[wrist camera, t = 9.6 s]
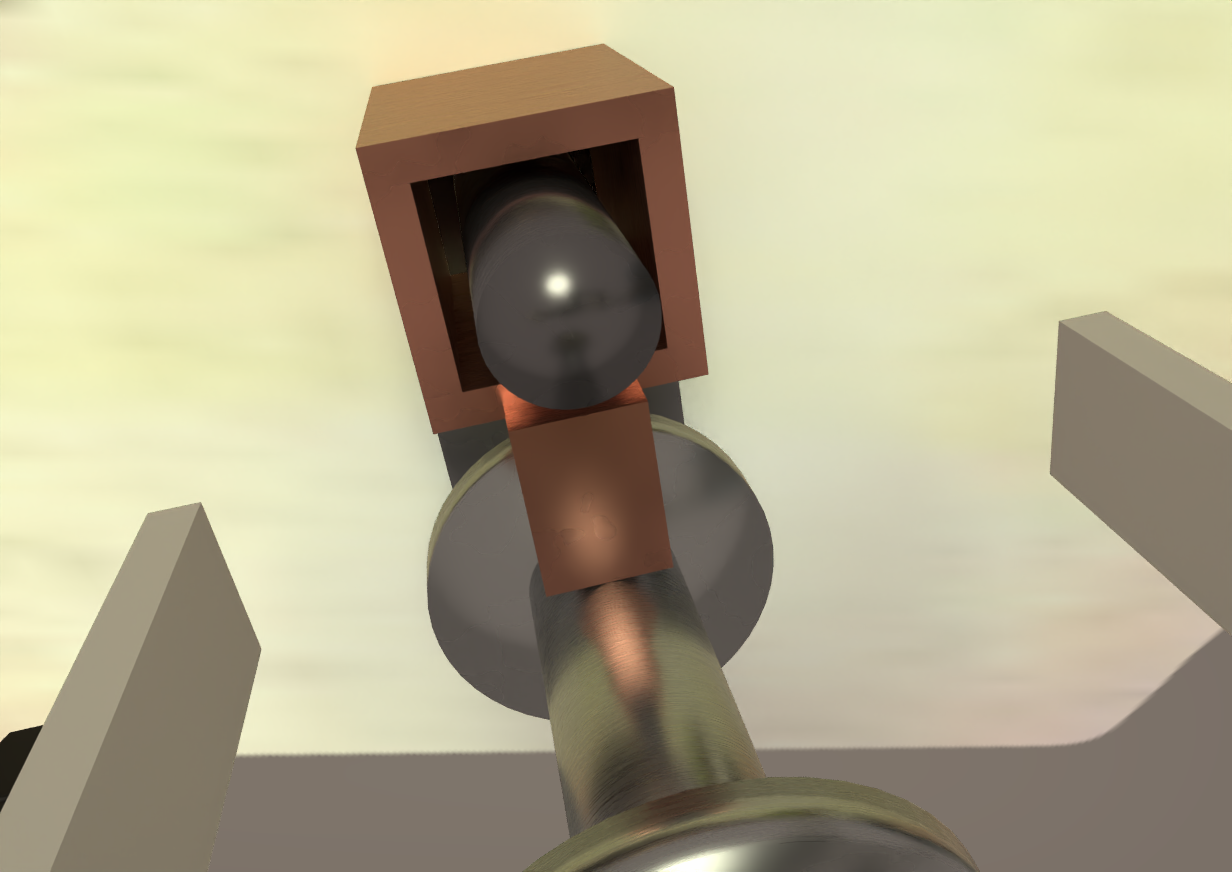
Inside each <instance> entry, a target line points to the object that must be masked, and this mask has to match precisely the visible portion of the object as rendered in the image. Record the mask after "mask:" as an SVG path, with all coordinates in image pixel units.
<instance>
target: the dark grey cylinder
mask: <svg viewBox="0 0 1232 872" xmlns="http://www.w3.org/2000/svg"><path fill="white" fill-rule="evenodd" d="M454 189H455V195H456V202H457V208H458V215H459V221H460V228H461V235H462V241H463V248H464V254H465V261H466V267H467V274H468V280H469V287H470V293H471V300H472V306H473V313H474V320H475V326H476V333H477V339H478V345H479V348H480V351H481V354H482V357H483V359H484V361H485V363H486V365H487V367H488V368H489V370H490V371H491V373H492V374H493V376H494V377H495V378H496V379H497V380H498V382H499V383H500V384H501V385H502V386H504V387H505V388H506V389H507V390H508V391H509V392H511V393H512V394H514V395H515V396H517V397H518V398H520V399H522V400H524V401H526V402H529V403H531V404H534V405H537V406H540V407H545V408H550V409H560V410H569V409H579V408H586V407H589V406H593V405H596V404H599V403H602V402H604V401H606V400H609V399H610V398H612V397H614V396H616V395H618V394H619V393H621V392H622V391H623V390H625V389H626V388H627V387H629V386H630V385H631V384H632V383H633V382H634V381H635V380H636V379H637V378H638V377H639V376H640V374H641V373H642V372H643V371H644V369H645V368H646V366H647V365H648V363H649V362H650V360H651V358H652V356H653V354H654V352H655V350H656V347H657V344H658V341H659V337H660V332H661V322H662V312H661V303H660V299H659V294H658V291H657V289H656V286H655V283H654V281H653V280H652V278H651V276H650V274H649V272H648V271H647V269H646V268H645V267H644V265H643V264H642V262H641V261H640V259H639V258H638V256H637V255H636V253H635V252H634V250H633V249H632V247H631V246H630V244H629V243H628V241H627V240H626V238H625V237H624V235H623V234H622V233H621V231H620V230H619V228H618V227H617V225H616V224H615V222H614V221H613V219H612V218H611V216H610V215H609V213H608V212H607V210H606V209H605V207H604V206H603V204H602V203H601V201H600V200H599V199H598V197H597V196H596V194H595V193H594V191H593V190H592V188H591V187H590V185H589V184H588V182H587V181H586V179H585V178H584V176H583V175H582V173H581V172H580V170H579V169H578V167H577V166H576V165H575V163H574V162H573V160H572V159H571V157H570V156H569V154H568V153H567V152H565V153H560V154H555V155H550V156H545V157H540V158H535V159H530V160H525V161H520V162H515V163H509V164H504V165H499V166H494V167H489V168H484V169H479V170H474V171H469V172H464V173H458V174H454Z"/></svg>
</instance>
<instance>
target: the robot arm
mask: <svg viewBox="0 0 1232 872" xmlns="http://www.w3.org/2000/svg"><path fill="white" fill-rule="evenodd" d="M1050 474H1051V475H1052V476H1053V477H1054V478H1055V479H1056V480H1057V481H1058V482H1059V483H1061V484H1062V485H1063V486H1064V487H1065V488H1066V489H1067V490H1068V491H1070V492H1071V493H1072V494H1073V495H1074V496H1075V497H1076V498H1077V499H1079V500H1080V501H1081V502H1082V503H1083V504H1084V505H1085V506H1086V507H1087V508H1089V509H1090V510H1091V511H1092V512H1093V513H1094V514H1095V515H1096V516H1098V517H1099V518H1100V519H1101V520H1102V521H1103V522H1104V523H1105V524H1107V525H1108V526H1109V527H1110V528H1111V529H1112V530H1113V531H1114V532H1115V533H1117V534H1118V535H1119V536H1120V537H1121V538H1122V539H1123V540H1124V541H1126V542H1127V543H1128V544H1129V545H1130V546H1131V547H1132V548H1133V549H1135V550H1136V551H1137V552H1138V553H1139V554H1140V555H1141V556H1142V557H1144V558H1145V559H1146V560H1147V561H1148V562H1149V563H1150V564H1151V565H1152V566H1154V567H1155V568H1156V569H1157V570H1158V571H1159V572H1160V573H1161V574H1163V575H1164V576H1165V577H1166V578H1167V579H1168V580H1169V581H1170V582H1172V583H1173V584H1174V585H1175V586H1176V587H1177V588H1178V589H1179V590H1180V591H1182V592H1183V593H1184V594H1185V595H1186V596H1187V597H1188V598H1189V599H1191V600H1192V601H1193V602H1194V603H1195V604H1196V605H1197V606H1198V607H1200V608H1201V609H1202V610H1203V611H1204V612H1205V613H1206V614H1207V615H1208V616H1210V617H1211V618H1212V619H1213V620H1214V621H1215V622H1216V623H1217V624H1219V625H1220V626H1221V627H1222V628H1223V629H1224V630H1225V631H1226V632H1228V633H1229V634H1230V635H1231V636H1232V383H1230V382H1229V381H1227V380H1225V379H1223V378H1222V377H1220V376H1218V375H1216V374H1215V373H1213V372H1211V371H1209V370H1208V369H1206V368H1204V367H1202V366H1201V365H1199V364H1197V363H1195V362H1194V361H1192V360H1190V359H1189V358H1187V357H1185V356H1183V355H1182V354H1180V353H1178V352H1176V351H1175V350H1173V349H1171V348H1169V347H1168V346H1166V345H1164V344H1162V343H1161V342H1159V341H1157V340H1155V339H1154V338H1152V337H1150V336H1149V335H1147V334H1145V333H1143V332H1142V331H1140V330H1138V329H1136V328H1135V327H1133V326H1131V325H1129V324H1128V323H1126V322H1124V321H1122V320H1121V319H1119V318H1117V317H1115V316H1114V315H1112V314H1110V313H1108V312H1107V311H1104V312H1099V313H1094V314H1090V315H1085V316H1080V317H1075V318H1071V319H1066V320H1061V321H1059V329H1058V346H1057V363H1056V380H1055V397H1054V413H1053V430H1052V447H1051V464H1050ZM260 653H261V647H260V644H259V642H258V639H257V637H256V635H255V632H254V630H253V627H252V625H251V622H250V620H249V618H248V615H247V613H246V610H245V608H244V605H243V603H242V601H241V598H240V596H239V593H238V591H237V588H236V586H235V583H234V581H233V579H232V576H231V574H230V571H229V569H228V566H227V564H226V562H225V559H224V557H223V554H222V552H221V549H220V547H219V545H218V542H217V540H216V537H215V535H214V532H213V530H212V528H211V525H210V523H209V520H208V518H207V515H206V513H205V511H204V508H203V506H202V503H201V502H199V503H194V504H190V505H185V506H180V507H175V508H171V509H166V510H161V511H156V512H152V513H148V514H147V516H146V518H145V520H144V522H143V524H142V526H141V528H140V530H139V532H138V534H137V536H136V538H135V540H134V542H133V544H132V546H131V548H130V550H129V552H128V554H127V556H126V558H125V560H124V562H123V564H122V566H121V568H120V571H119V573H118V575H117V577H116V579H115V581H114V583H113V585H112V587H111V589H110V591H109V593H108V595H107V597H106V599H105V601H104V603H103V605H102V607H101V609H100V611H99V613H98V615H97V617H96V619H95V621H94V623H93V625H92V627H91V629H90V631H89V634H88V636H87V638H86V640H85V642H84V644H83V646H82V648H81V650H80V652H79V654H78V656H77V658H76V660H75V662H74V664H73V666H72V668H71V670H70V672H69V674H68V676H67V678H66V680H65V682H64V684H63V686H62V688H61V690H60V692H59V694H58V697H57V699H56V701H55V703H54V705H53V707H52V709H51V711H50V713H49V715H48V717H47V719H46V721H45V723H44V725H41V726H37V727H33V728H28V729H24V730H19V731H15V732H10V733H9V734H8V735H7V736H6V737H5V738H4V739H3V740H2V741H1V742H0V872H208V868H209V863H210V860H211V855H212V851H213V847H214V843H215V839H216V835H217V831H218V826H219V822H220V818H221V814H222V810H223V806H224V802H225V797H226V793H227V789H228V785H229V781H230V777H231V773H232V769H233V764H234V760H235V756H236V752H237V748H238V744H239V740H240V736H241V732H242V727H243V723H244V719H245V715H246V711H247V707H248V703H249V699H250V694H251V690H252V686H253V682H254V678H255V674H256V670H257V666H258V661H259V657H260Z"/></svg>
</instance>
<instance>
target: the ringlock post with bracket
mask: <svg viewBox="0 0 1232 872" xmlns="http://www.w3.org/2000/svg"><path fill="white" fill-rule="evenodd" d="M586 148H590V155H591V161H592V167H593V173H594V179H595V185H596V191H597V197H598V199H599V200H600V201H601V203H602V204H603V206H604V207H605V209H606V210H607V212H608V213H609V215H610V216H611V218H612V219H613V221H614V222H615V224H616V225H617V227H618V228H619V230H620V231H621V233H622V234H623V235H624V237H625V238H626V240H627V241H628V243H629V244H630V246H631V247H632V249H633V250H634V252H635V253H636V255H637V256H638V258H639V259H640V261H641V262H642V264H643V265H644V267H645V268H646V269H647V271H648V272H649V274H650V276H651V278H652V280H653V281H654V283H655V286H656V289H657V291H658V294H659V299H660V303H661V312H662V322H661V332H660V337H659V341H658V344H657V347H656V350H655V352H654V354H653V356H652V358H651V360H650V362H649V363H648V365H647V366H646V368H645V369H644V371H643V372H642V373H641V374H640V376H639V377H638V378H637V379H636V380H635V381H634V382H633V383H632V384H631V385H630V386H629V387H627V388H626V389H625V390H623V391H622V392H621V393H619V394H618V395H616V396H614V397H612V398H610V399H609V400H606V401H604V402H602V403H599V404H596V405H593V406H589V407H586V408H579V409H569V410H560V409H550V408H545V407H540V406H537V405H534V404H531V403H529V402H526V401H524V400H522V399H520V398H518V397H517V396H515V395H514V394H512V393H511V392H509V391H508V390H507V389H506V388H505V387H504V386H502V385H501V384H500V383H499V382H498V380H497V379H496V378H495V377H494V376H493V374H492V373H491V371H490V370H489V368H488V367H487V365H486V363H485V361H484V359H483V357H482V354H481V351H480V348H479V345H478V339H477V333H476V326H475V320H474V313H473V306H472V300H471V293H470V287H469V280H468V274H467V272H464V273H459V274H454V275H450V271H449V266H448V262H447V258H446V254H445V250H444V246H443V242H442V238H441V233H440V229H439V225H438V221H437V217H436V213H435V209H434V205H433V200H432V196H431V192H430V188H429V184H428V179H433V178H438V177H443V176H448V175H453V174H458V173H464V172H469V171H474V170H479V169H484V168H489V167H494V166H499V165H504V164H509V163H515V162H520V161H525V160H530V159H535V158H540V157H545V156H550V155H555V154H560V153H565V152H571V151H576V150H581V149H586ZM356 152H357V155H358V159H359V163H360V166H361V170H362V174H363V177H364V181H365V185H366V188H367V192H368V196H369V199H370V203H371V207H372V210H373V214H374V218H375V221H376V225H377V229H378V232H379V236H380V240H381V243H382V247H383V251H384V254H385V258H386V262H387V265H388V269H389V273H390V276H391V280H392V284H393V287H394V291H395V295H396V298H397V302H398V306H399V309H400V313H401V317H402V320H403V324H404V328H405V332H406V335H407V339H408V343H409V346H410V350H411V354H412V357H413V361H414V365H415V368H416V372H417V376H418V379H419V383H420V387H421V390H422V394H423V398H424V401H425V405H426V409H427V412H428V416H429V420H430V423H431V427H432V431H433V434H437V433H438V436H439V440H440V444H441V448H442V451H443V455H444V459H445V462H446V466H447V470H448V474H449V477H450V481H451V485H452V488H453V489H452V491H451V493H450V494H449V496H448V497H447V499H446V501H445V502H444V504H443V506H442V508H441V510H440V512H439V515H438V517H437V519H436V522H435V524H434V527H433V531H432V535H431V538H430V542H429V548H428V557H427V593H428V610H429V614H430V619H431V623H432V628H433V630H434V633H435V635H436V638H437V640H438V643H439V645H440V647H441V649H442V650H443V652H444V654H445V655H446V657H447V659H448V660H449V662H450V663H451V664H452V665H453V667H454V668H455V669H456V670H457V671H458V673H459V674H460V675H461V676H462V677H463V678H464V679H465V680H466V681H467V682H469V683H470V684H471V685H472V686H473V687H474V688H475V689H477V690H478V691H480V692H481V693H483V694H484V695H486V696H487V697H489V698H490V699H492V700H494V701H496V702H498V703H500V704H502V705H504V706H506V707H508V708H510V709H513V710H516V711H518V712H521V713H524V714H527V715H531V716H535V717H540V718H544V719H549V720H550V722H551V728H552V734H553V740H554V746H555V752H556V758H557V763H558V769H559V775H560V781H561V787H562V793H563V799H564V805H565V811H566V817H567V822H568V828H569V834H570V839H568V840H566V841H565V842H563V843H562V844H560V845H559V846H557V847H556V848H554V849H553V850H551V851H550V852H548V853H547V854H545V855H544V856H542V857H540V858H539V859H537V860H536V861H535V862H534V863H533V864H531V865H530V866H529V867H528V868H527V869H525V870H524V871H523V872H980V870H979V869H978V867H977V865H976V864H975V862H974V860H973V859H972V857H971V855H970V854H969V852H968V850H967V849H966V848H965V847H964V845H963V844H962V843H961V842H960V841H959V839H958V838H957V837H956V836H955V834H954V833H953V832H952V831H951V830H950V829H949V828H948V827H946V826H945V825H944V824H942V823H941V822H940V821H939V820H938V819H937V818H935V817H934V816H933V815H932V814H930V813H929V812H927V811H925V810H923V809H922V808H920V807H918V806H916V805H914V804H913V803H911V802H909V801H908V800H905V799H903V798H900V797H897V796H895V795H892V794H890V793H887V792H884V791H882V790H879V789H876V788H871V787H868V786H863V785H859V784H855V783H850V782H846V781H839V780H830V779H820V778H811V777H767V778H766V775H765V773H764V770H763V768H762V766H761V763H760V761H759V758H758V756H757V753H756V751H755V749H754V746H753V744H752V741H751V739H750V736H749V734H748V732H747V729H746V727H745V724H744V722H743V720H742V717H741V715H740V712H739V710H738V707H737V705H736V703H735V700H734V698H733V695H732V693H731V690H730V688H729V686H728V683H727V681H726V678H725V676H724V674H723V671H722V669H721V668H722V667H723V666H724V665H725V664H726V663H727V662H728V661H729V660H730V659H731V658H732V657H733V656H734V654H735V653H736V652H737V651H738V650H739V648H740V647H741V646H742V645H743V643H744V642H745V641H746V639H747V638H748V637H749V635H750V633H751V632H752V630H753V628H754V627H755V625H756V623H757V621H758V620H759V617H760V615H761V613H762V610H763V608H764V606H765V604H766V600H767V597H768V593H769V590H770V586H771V581H772V573H773V544H772V538H771V532H770V528H769V525H768V522H767V519H766V516H765V513H764V511H763V509H762V507H761V505H760V503H759V502H758V500H757V498H756V496H755V494H754V493H753V491H752V489H751V488H750V486H749V484H748V482H747V481H746V479H745V477H744V476H743V474H742V473H741V471H740V470H739V469H738V467H737V466H736V465H735V463H734V462H733V461H732V459H731V458H730V457H729V456H728V455H727V454H726V453H725V452H724V451H723V450H722V449H721V448H719V447H718V446H717V445H716V444H715V443H714V442H712V441H711V440H709V439H708V438H707V437H705V436H704V435H702V434H701V433H699V432H697V431H696V430H694V429H692V428H690V427H688V426H686V425H684V418H683V411H682V404H681V396H680V389H679V382H678V381H680V380H685V379H690V378H694V377H699V376H703V375H708V367H707V358H706V350H705V342H704V333H703V325H702V317H701V308H700V300H699V292H698V284H697V275H696V267H695V259H694V250H693V242H692V234H691V226H690V217H689V209H688V201H687V192H686V184H685V176H684V167H683V159H682V151H681V143H680V134H679V126H678V118H677V109H676V101H675V93H674V87H673V86H671V85H670V84H668V83H666V82H665V81H663V80H662V79H660V78H658V77H657V76H655V75H654V74H652V73H650V72H649V71H647V70H645V69H644V68H642V67H641V66H639V65H637V64H636V63H634V62H632V61H631V60H629V59H628V58H626V57H624V56H623V55H621V54H620V53H618V52H616V51H615V50H613V49H611V48H610V47H608V46H607V45H605V44H599V45H594V46H589V47H583V48H578V49H572V50H567V51H562V52H556V53H551V54H546V55H540V56H535V57H530V58H524V59H519V60H514V61H508V62H503V63H498V64H492V65H487V66H482V67H476V68H471V69H466V70H460V71H455V72H450V73H444V74H439V75H434V76H428V77H423V78H418V79H412V80H407V81H402V82H396V83H391V84H386V85H380V86H375V87H372V90H371V93H370V97H369V101H368V104H367V108H366V112H365V115H364V119H363V123H362V126H361V130H360V134H359V137H358V141H357V145H356Z"/></svg>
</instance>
